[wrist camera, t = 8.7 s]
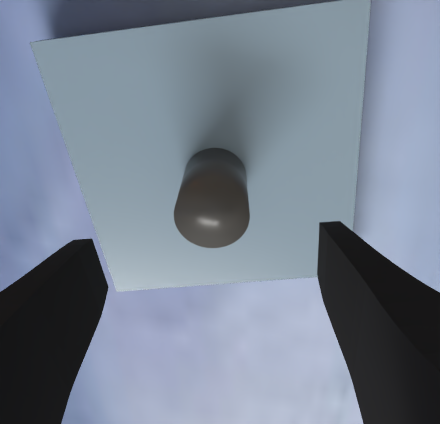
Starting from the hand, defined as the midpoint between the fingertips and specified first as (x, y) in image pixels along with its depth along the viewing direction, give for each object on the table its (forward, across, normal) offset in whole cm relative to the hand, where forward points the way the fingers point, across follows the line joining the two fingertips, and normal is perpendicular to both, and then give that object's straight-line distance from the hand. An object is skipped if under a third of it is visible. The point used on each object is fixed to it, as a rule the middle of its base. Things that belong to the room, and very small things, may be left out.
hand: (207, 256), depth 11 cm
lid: (+7, 0, 0) cm, 7 cm away
